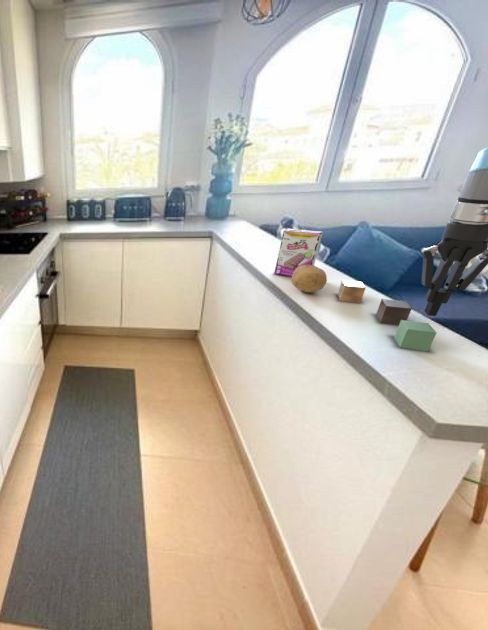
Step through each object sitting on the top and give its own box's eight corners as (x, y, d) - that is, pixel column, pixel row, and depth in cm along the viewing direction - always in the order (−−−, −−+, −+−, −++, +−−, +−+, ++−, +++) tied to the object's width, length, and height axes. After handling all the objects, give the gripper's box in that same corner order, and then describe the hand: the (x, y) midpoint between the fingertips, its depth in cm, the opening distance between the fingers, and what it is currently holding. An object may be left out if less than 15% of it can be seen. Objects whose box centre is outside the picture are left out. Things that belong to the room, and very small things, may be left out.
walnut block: (398, 317, 94) (405, 301, 92) (404, 325, 90) (411, 308, 88) (375, 315, 96) (381, 298, 94) (380, 322, 92) (386, 306, 90)
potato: (317, 283, 119) (323, 261, 115) (329, 299, 107) (336, 275, 103) (284, 281, 122) (289, 260, 118) (292, 297, 110) (298, 273, 107)
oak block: (357, 296, 107) (362, 281, 105) (360, 303, 103) (365, 287, 101) (337, 294, 109) (341, 280, 107) (340, 300, 105) (344, 285, 103)
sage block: (420, 341, 83) (428, 323, 81) (428, 351, 79) (436, 332, 77) (393, 337, 86) (401, 319, 83) (399, 347, 82) (407, 329, 79)
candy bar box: (273, 274, 129) (282, 230, 121) (277, 270, 132) (286, 227, 124) (308, 280, 121) (320, 234, 114) (311, 276, 125) (323, 231, 117)
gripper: (440, 223, 78) (401, 315, 88) (523, 225, 72) (471, 324, 83) (428, 217, 84) (393, 304, 94) (504, 218, 78) (458, 311, 89)
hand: (429, 313), depth 89 cm, fingers closed
